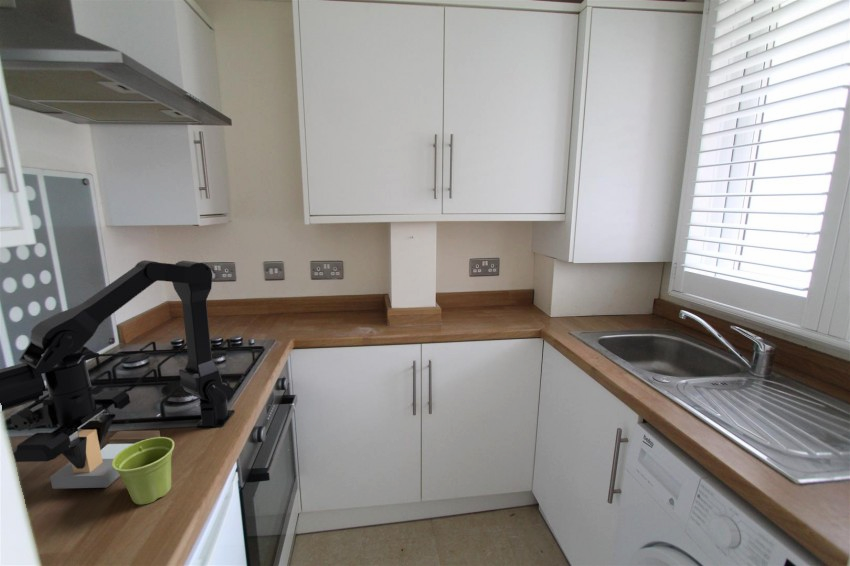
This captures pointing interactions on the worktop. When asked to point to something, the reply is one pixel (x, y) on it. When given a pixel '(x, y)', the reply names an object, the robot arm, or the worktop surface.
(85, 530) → the worktop surface
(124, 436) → the stop bar
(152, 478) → the plant pot
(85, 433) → the tan block grey base
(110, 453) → the tile
